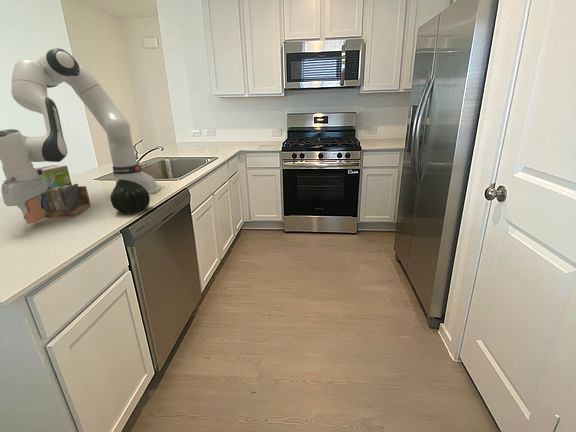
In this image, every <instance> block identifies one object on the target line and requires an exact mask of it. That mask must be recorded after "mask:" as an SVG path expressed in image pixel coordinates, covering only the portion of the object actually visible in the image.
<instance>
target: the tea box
mask: <svg viewBox="0 0 576 432" xmlns="http://www.w3.org/2000/svg"><path fill="white" fill-rule="evenodd" d="M36 168H37V169H42V170H43V171H44V174H43V176H44V177H45V180H46V183H47V186H52V188H55V187H58V186H63V185H71V186H72V185H73V184H72V180H71V176H70V171H69V168H68V166H67V165H63V164H62V165H60V164H59V165H57V164H56V165H55V164H51V165H45V166H42V167H36Z"/></svg>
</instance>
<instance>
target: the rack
mask: <svg viewBox="0 0 576 432" xmlns="http://www.w3.org/2000/svg"><path fill="white" fill-rule="evenodd" d="M47 187H48V189H47V192H45V193H43V194H41V208H42V211H43V214H44V217H45V218H44V219H48V218H49V219H53V217H55V218H69V217H77V216H78V215H80V214H81V213H83V212H84V211H86V210H87V209H89V208H90V207H92V205H91V200H90V197H89V193H88V190H87V185H85V186H81V185H80V186H79V184H78V183H74V184H72V186H71V185H63V186H58V187H55V188H52V186H47ZM23 219H24V220H26V219H25V216H24V215H23Z"/></svg>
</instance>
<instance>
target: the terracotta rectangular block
mask: <svg viewBox="0 0 576 432" xmlns="http://www.w3.org/2000/svg"><path fill="white" fill-rule="evenodd" d="M25 206H26V207H27V208H29V211H30V212H29V213H27V214H23V217H24V216H25V219H24V220H25V221H26V224H27V225H32V224H33V225H34V224H35V225H36V224H37V223H39V222H41V221H42V220H44V219H46V218H45V217H44V214H43V211H42V208H41V205H40V202H39V198H38V197H34V198H32V199H30V200H28V201H26V202H25Z"/></svg>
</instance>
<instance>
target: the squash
mask: <svg viewBox="0 0 576 432" xmlns="http://www.w3.org/2000/svg"><path fill="white" fill-rule="evenodd" d="M110 194H111V195H110V203H111V206H112V207H113V208H114V209H115V210H116V211H117V212H119V213H120V214H125V215H127V214H129V215H131V214H134V213H135V212H139V211H141V210H142V209H143V210H145V209H146V208H148V207H149V205H150V199H151V197H150V194H149V193H148V192H147V190H146V189H145V188H144V187H143V186H142V185H140V184H138V183H136V182H132V181H129V180H121V179H119V181H118V182H117V184H116V183H115V186H114V188H113V190H112V192H111V193H110ZM143 210H142V211H143Z"/></svg>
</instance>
